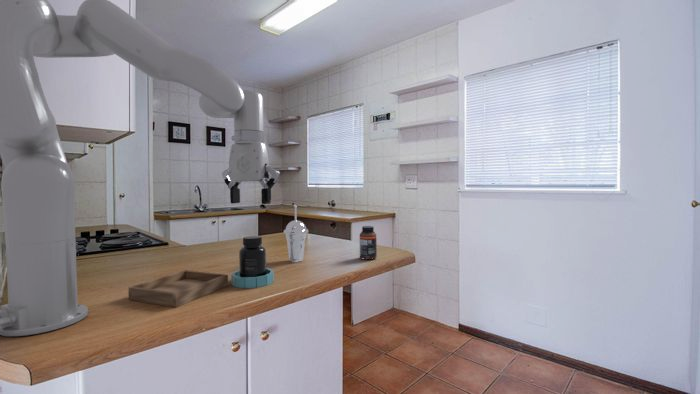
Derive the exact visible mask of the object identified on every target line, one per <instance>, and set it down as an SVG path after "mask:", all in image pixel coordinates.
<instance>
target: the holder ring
mask: <svg viewBox="0 0 700 394" xmlns="http://www.w3.org/2000/svg"><path fill="white" fill-rule="evenodd" d="M274 272H275V271H274V269H272V268H269V267H266V275H264V276H258V277H240V269H237V270H235V271H233V272H232V273H231V276H230V277H231V278H230V279H231V283H230V284H231V285H232V286H233V287H235V288H240V289H255V288H261V287H266V286H269V285H271V284H272V283H274V281H275V279H274V277H275V275H274V274H275V273H274Z"/></svg>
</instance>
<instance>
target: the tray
mask: <svg viewBox="0 0 700 394" xmlns="http://www.w3.org/2000/svg"><path fill="white" fill-rule="evenodd" d="M228 286H229V275H228V274H225V273H223V274H222V273H216V272H215V273H213V272H205V271H196V270H189V269H188V270H187V269H185V270H180V271H178V272H175V273H171V274H168V275H165V276H162V277H159V278H156V279H152V280H149V281H145V282H141V283H138V284H135V285H132V286H129V287H128V289H127V291H128V301H135V302H139V303H147V304H152V305H159V306H164V307H171V308H179V307H181V306H183V305H185V304H188V303H190V302H193V301H195V300H198V299H200V298H202V297H205V296H207V295H209V294H211V293H214V292H216V291H219V290H221V289H224V288H226V287H228Z"/></svg>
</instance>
